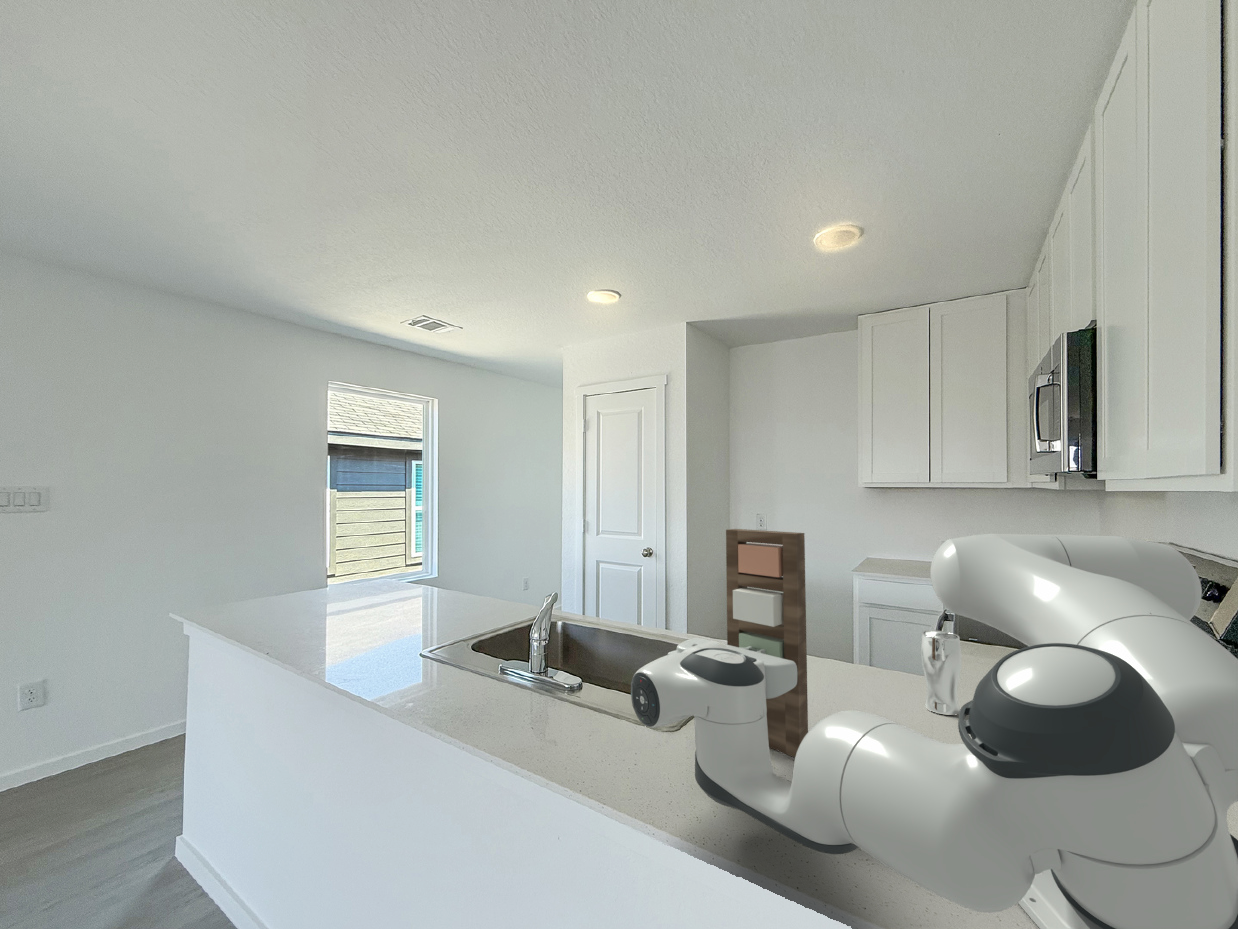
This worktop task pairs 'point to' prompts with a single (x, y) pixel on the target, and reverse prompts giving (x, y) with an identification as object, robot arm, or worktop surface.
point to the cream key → (758, 606)
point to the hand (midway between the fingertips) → (758, 652)
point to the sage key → (762, 643)
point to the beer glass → (941, 670)
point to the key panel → (776, 628)
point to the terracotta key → (760, 559)
